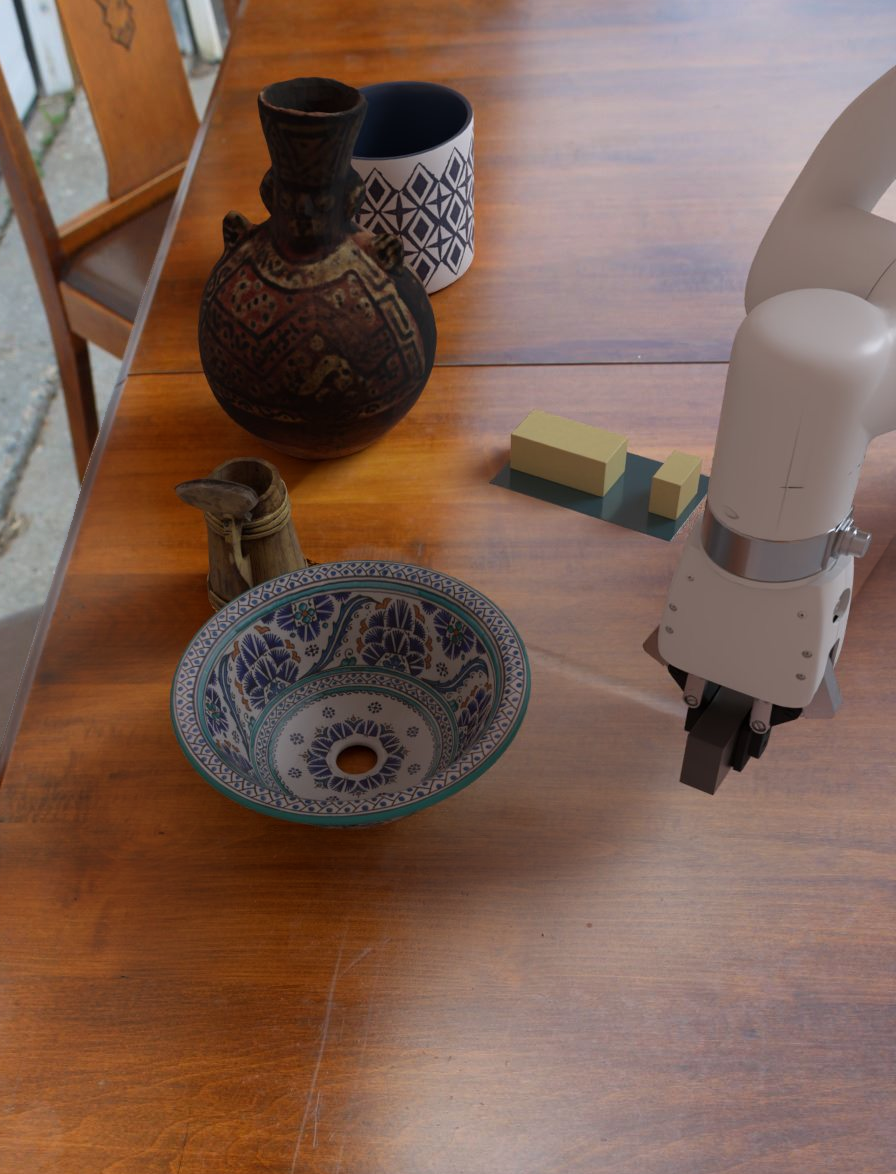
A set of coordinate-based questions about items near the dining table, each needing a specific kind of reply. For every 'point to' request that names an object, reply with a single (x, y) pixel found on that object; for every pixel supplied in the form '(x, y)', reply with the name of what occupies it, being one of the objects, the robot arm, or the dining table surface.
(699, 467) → the butter slice
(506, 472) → the flat slate board
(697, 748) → the knife
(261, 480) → the wooden mug
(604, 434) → the butter stick
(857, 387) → the robot arm
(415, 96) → the planter
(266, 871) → the dining table surface
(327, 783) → the bowl
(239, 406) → the ceramic vessel
